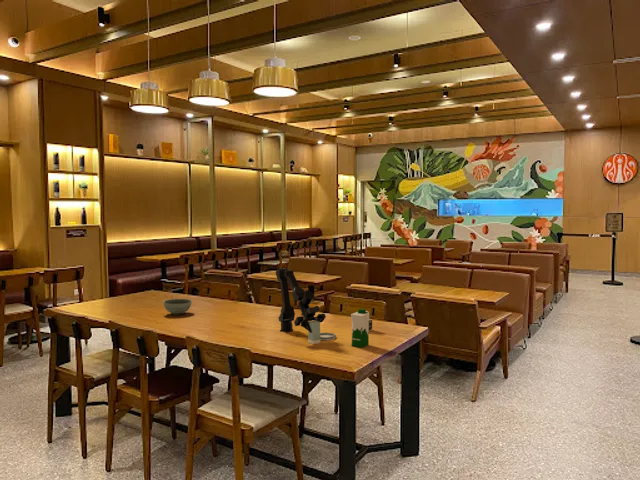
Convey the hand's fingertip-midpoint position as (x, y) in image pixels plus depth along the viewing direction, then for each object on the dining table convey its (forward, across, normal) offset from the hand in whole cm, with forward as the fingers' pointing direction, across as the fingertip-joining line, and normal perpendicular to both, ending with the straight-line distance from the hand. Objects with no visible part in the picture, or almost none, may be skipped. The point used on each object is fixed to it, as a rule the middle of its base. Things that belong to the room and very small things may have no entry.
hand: (315, 331), depth 277 cm
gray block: (+4, 0, +6) cm, 7 cm away
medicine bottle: (-2, +41, +11) cm, 43 cm away
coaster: (-1, +11, +10) cm, 15 cm away
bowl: (-85, -43, +95) cm, 134 cm away
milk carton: (+17, +18, -8) cm, 26 cm away
